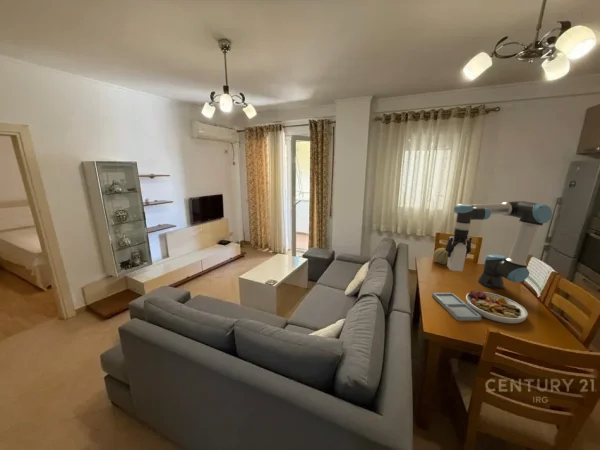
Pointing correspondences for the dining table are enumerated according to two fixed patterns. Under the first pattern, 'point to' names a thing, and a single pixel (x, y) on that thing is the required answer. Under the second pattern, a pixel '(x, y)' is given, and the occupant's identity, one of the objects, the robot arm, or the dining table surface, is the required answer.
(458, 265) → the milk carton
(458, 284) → the dining table surface
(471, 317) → the divided tray
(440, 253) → the cantaloupe
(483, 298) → the plate of food
